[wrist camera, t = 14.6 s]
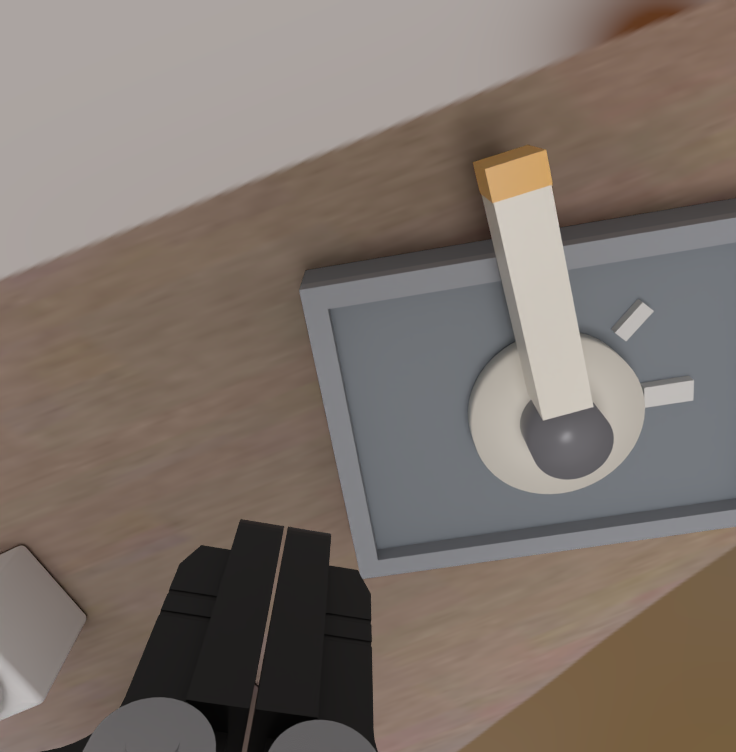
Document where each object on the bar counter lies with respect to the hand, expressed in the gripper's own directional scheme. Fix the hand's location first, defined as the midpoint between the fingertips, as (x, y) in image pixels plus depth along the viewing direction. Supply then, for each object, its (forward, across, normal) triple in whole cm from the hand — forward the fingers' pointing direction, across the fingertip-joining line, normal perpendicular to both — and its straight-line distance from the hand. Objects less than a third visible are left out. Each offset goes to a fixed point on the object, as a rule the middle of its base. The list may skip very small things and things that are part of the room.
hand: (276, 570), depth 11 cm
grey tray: (+27, -13, +5) cm, 30 cm away
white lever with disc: (+23, -11, +1) cm, 26 cm away
